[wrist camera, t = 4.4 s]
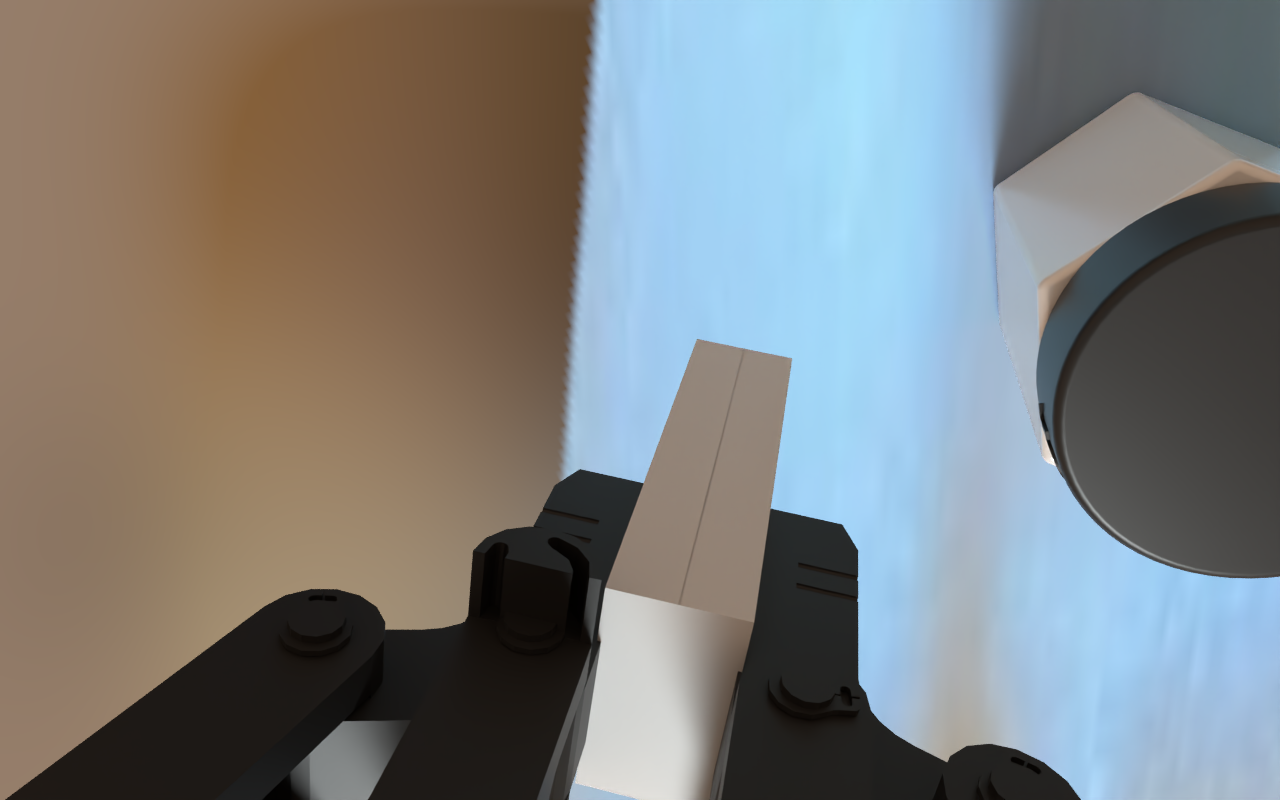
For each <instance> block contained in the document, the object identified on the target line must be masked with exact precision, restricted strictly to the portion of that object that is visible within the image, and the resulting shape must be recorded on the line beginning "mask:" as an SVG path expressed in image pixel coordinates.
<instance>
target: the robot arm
mask: <svg viewBox="0 0 1280 800" xmlns="http://www.w3.org/2000/svg"><path fill="white" fill-rule="evenodd" d="M791 362H792V358H787V357H782V356H777V355H772V354H767V353H762V352H758V351H753V350H748V349H743V348H738V347H733V346H728V345H723V344H718V343H714V342H709V341H704V340H699V339H697V341H696V344H695V346H694V349H693V352H692V354H691V357H690V360H689V362H688V365H687V368H686V371H685V373H684V376H683V379H682V381H681V384H680V387H679V390H678V392H677V395H676V398H675V400H674V403H673V406H672V408H671V411H670V414H669V417H668V419H667V422H666V425H665V427H664V430H663V433H662V435H661V438H660V441H659V444H658V446H657V449H656V452H655V454H654V457H653V460H652V462H651V465H650V468H649V471H648V473H647V476H646V479H645V481H644V483H640V482H635V481H631V480H626V479H622V478H617V477H613V476H608V475H603V474H599V473H594V472H590V471H585V470H581V469H580V470H578V471H577V472H575V473H573V474H572V475H570V476H569V477H567V478H566V479H564V480H562V481H561V482H559V483H558V484H556V485H555V486H554V488H553V490H552V492H551V494H550V496H549V498H548V500H547V502H546V503H545V505H544V507H543V511H542V512H541V513H540V515H539V517H538V519H537V521H536V523H535V524H534V527H523V528H515V529H506V530H504V531H501V532H499V533H497V534H494V535H492V536H489V537H487V538H486V539H484V540H483V542H482V543H480V544H479V545H478V546H477V547H476V549H474V550H473V559H472V560H473V561H472V572H471V586H470V598H469V612H468V617H467V619H466V621H465V622H463V623H461V624H457V625H453V626H449V627H445V628H439V629H426V630H385V621H384V619H383V618H382V616H381V614H380V612H379V610H378V609H377V607H376V606H374V605H373V604H371V603H370V602H368V601H367V600H366V599H364V598H363V597H361V596H359V595H356V594H352V593H348V592H345V591H341V590H337V589H335V590H334V589H310V590H306V591H301V592H297V593H293V594H288V595H285V596H283V597H281V598H279V599H278V600H276V601H274V602H272V603H270V604H268V605H266V606H265V607H263V608H262V609H260V610H259V611H258V612H256V613H255V614H254V615H252V616H251V617H250V618H248V619H247V620H246V621H244V622H243V623H242V624H240V625H239V626H238V627H236V628H235V629H234V630H232V631H231V632H230V633H228V634H227V635H226V636H224V637H223V638H222V639H220V640H219V641H217V642H216V643H215V644H213V645H212V646H211V647H210V648H208V649H207V650H205V651H204V652H203V653H201V654H200V655H199V656H197V657H196V658H195V659H193V660H192V661H191V662H189V663H188V664H187V665H186V666H184V667H183V668H181V669H180V670H179V671H177V672H176V673H175V674H173V675H172V676H171V677H169V678H168V679H167V680H165V681H164V682H163V683H161V684H160V685H158V686H157V687H156V688H154V689H153V690H152V691H150V692H149V693H148V694H146V695H145V696H144V697H143V698H141V699H140V700H138V701H137V702H136V703H134V704H133V705H132V706H130V707H129V708H128V709H126V710H125V711H124V712H122V713H121V714H120V715H118V716H117V717H116V718H114V719H113V720H111V721H110V722H109V723H107V724H106V725H105V726H104V727H102V728H101V729H99V730H98V731H97V732H95V733H94V734H93V735H92V736H90V737H89V738H87V739H86V740H85V741H83V742H82V743H81V744H79V745H78V746H77V747H75V748H74V749H73V750H71V751H70V752H69V753H67V754H66V755H65V756H63V757H62V758H61V759H59V760H58V761H56V762H55V763H54V764H52V765H51V766H50V767H48V768H47V769H46V770H44V771H43V772H42V773H40V774H39V775H38V776H37V777H35V778H34V779H32V780H31V781H30V782H28V783H27V784H26V785H24V786H23V787H22V788H20V789H19V790H18V791H16V792H15V793H14V794H12V795H11V796H10V797H8V798H7V799H6V800H569V794H570V789H571V786H572V783H573V780H574V777H575V774H576V770H577V776H576V782H575V783H577V784H581V785H585V786H589V787H592V788H596V789H600V790H604V791H608V792H612V793H616V794H620V795H624V796H628V797H632V798H635V799H639V800H1081V799H1080V798H1079V797H1078V795H1077V794H1076V793H1075V791H1074V790H1073V788H1072V787H1071V786H1070V784H1069V783H1068V782H1067V781H1066V780H1065V779H1064V778H1062V777H1061V776H1060V775H1059V774H1057V773H1056V772H1055V771H1054V770H1052V769H1051V768H1050V767H1049V766H1047V765H1046V764H1045V763H1044V762H1042V761H1040V760H1037V759H1035V758H1033V757H1031V756H1029V755H1027V754H1025V753H1023V752H1021V751H1019V750H1017V749H1012V748H1007V747H1002V746H998V745H993V744H983V745H973V746H966V747H965V748H963V749H961V750H960V751H958V752H956V753H955V754H953V755H951V756H950V758H949V760H948V762H945V761H943V760H941V759H939V758H937V757H935V756H933V755H931V754H929V753H927V752H925V751H923V750H921V749H919V748H917V747H915V746H913V745H912V744H910V743H908V742H907V741H905V740H903V739H902V738H900V737H898V736H897V735H895V734H894V733H893V732H892V731H890V730H889V729H888V728H887V727H886V726H884V725H883V724H882V723H881V722H880V721H879V720H878V719H877V718H876V716H875V715H874V714H873V713H872V712H871V710H870V706H869V702H868V699H867V695H866V692H865V691H864V690H863V689H862V687H861V686H860V685H859V681H858V602H857V599H858V581H857V578H858V550H857V548H856V546H855V545H854V543H853V541H852V540H851V538H850V537H849V535H848V533H847V532H846V530H845V529H844V527H843V525H842V524H837V523H833V522H828V521H824V520H819V519H815V518H810V517H806V516H801V515H797V514H792V513H788V512H783V511H779V510H774V509H770V508H771V501H772V495H773V488H774V481H775V474H776V467H777V460H778V453H779V446H780V439H781V432H782V425H783V418H784V411H785V404H786V397H787V390H788V383H789V376H790V369H791ZM577 767H578V769H577Z"/></svg>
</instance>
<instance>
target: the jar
mask: <svg viewBox="0 0 1280 800" xmlns="http://www.w3.org/2000/svg"><path fill="white" fill-rule="evenodd" d="M993 198H994V220H995V242H996V264H997V286H998V308H999V324H1000V328H1001V331H1002V334H1003V337H1004V340H1005V343H1006V346H1007V349H1008V352H1009V356H1010V359H1011V362H1012V365H1013V368H1014V371H1015V374H1016V377H1017V380H1018V383H1019V387H1020V390H1021V393H1022V396H1023V399H1024V402H1025V405H1026V408H1027V411H1028V414H1029V417H1030V421H1031V424H1032V427H1033V430H1034V433H1035V436H1036V439H1037V442H1038V445H1039V448H1040V451H1041V455H1042V457H1043V459H1044V460H1045V461H1046V462H1047V463H1049V464H1052V465H1054V466H1056V467H1057V469H1058V470H1059V472H1060V474H1061V475H1062V477H1063V478H1064V479H1065V481H1066V483H1067V485H1068V487H1069V488H1070V490H1071V492H1072V494H1073V495H1074V497H1075V498H1076V500H1077V501H1078V502H1079V504H1080V505H1081V507H1082V508H1083V509H1084V510H1085V511H1086V513H1087V514H1088V515H1089V516H1090V517H1091V518H1092V519H1093V520H1094V521H1095V522H1096V523H1097V524H1098V525H1099V526H1100V527H1101V528H1102V529H1103V530H1105V531H1106V532H1107V533H1108V534H1109V535H1111V536H1112V537H1113V538H1115V539H1116V540H1118V541H1119V542H1120V543H1122V544H1123V545H1125V546H1127V547H1128V548H1130V549H1132V550H1133V551H1135V552H1137V553H1139V554H1141V555H1143V556H1145V557H1147V558H1149V559H1152V560H1154V561H1156V562H1159V563H1162V564H1165V565H1167V566H1170V567H1173V568H1177V569H1181V570H1184V571H1188V572H1192V573H1198V574H1203V575H1209V576H1218V577H1228V578H1269V577H1279V576H1280V148H1278V147H1275V146H1273V145H1270V144H1268V143H1265V142H1263V141H1260V140H1258V139H1255V138H1253V137H1250V136H1248V135H1245V134H1243V133H1240V132H1238V131H1235V130H1233V129H1230V128H1228V127H1225V126H1223V125H1220V124H1218V123H1215V122H1213V121H1210V120H1208V119H1205V118H1203V117H1200V116H1197V115H1195V114H1192V113H1190V112H1187V111H1185V110H1182V109H1180V108H1177V107H1175V106H1172V105H1170V104H1167V103H1165V102H1162V101H1160V100H1157V99H1155V98H1152V97H1150V96H1147V95H1145V94H1142V93H1139V92H1136V93H1132V94H1129V95H1128V96H1126V97H1125V98H1123V99H1122V100H1121V101H1119V102H1118V103H1116V104H1115V105H1113V106H1112V107H1110V108H1109V109H1107V110H1106V111H1104V112H1103V113H1102V114H1100V115H1099V116H1097V117H1096V118H1094V119H1093V120H1091V121H1090V122H1088V123H1087V124H1086V125H1084V126H1083V127H1081V128H1080V129H1078V130H1077V131H1075V132H1074V133H1072V134H1071V135H1070V136H1068V137H1067V138H1065V139H1064V140H1062V141H1061V142H1059V143H1058V144H1056V145H1055V146H1053V147H1052V148H1051V149H1049V150H1048V151H1046V152H1045V153H1043V154H1042V155H1040V156H1039V157H1037V158H1036V159H1035V160H1033V161H1032V162H1030V163H1029V164H1027V165H1026V166H1024V167H1023V168H1021V169H1020V170H1018V171H1017V172H1016V173H1014V174H1013V175H1011V176H1010V177H1008V178H1007V179H1005V180H1004V181H1002V182H1001V183H999V184H998V185H997V186H996V187H995V189H994V192H993Z"/></svg>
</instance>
